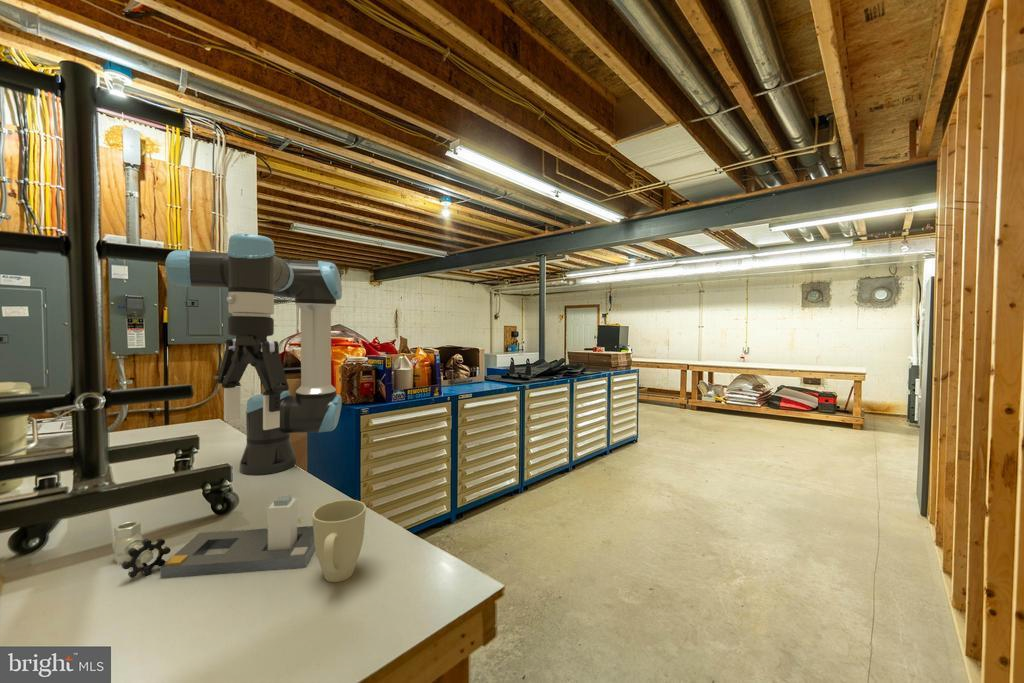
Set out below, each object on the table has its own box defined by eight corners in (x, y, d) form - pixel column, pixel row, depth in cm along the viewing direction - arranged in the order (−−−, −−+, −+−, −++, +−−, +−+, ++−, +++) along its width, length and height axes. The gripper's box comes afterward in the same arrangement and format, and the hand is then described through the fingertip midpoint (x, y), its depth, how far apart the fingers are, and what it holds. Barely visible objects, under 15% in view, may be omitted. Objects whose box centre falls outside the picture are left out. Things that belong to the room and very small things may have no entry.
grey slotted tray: (199, 542, 84) (199, 531, 84) (323, 534, 88) (323, 524, 88) (160, 578, 72) (160, 565, 72) (305, 567, 76) (305, 555, 76)
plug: (275, 547, 83) (276, 494, 82) (297, 545, 83) (297, 493, 83) (267, 558, 79) (267, 503, 78) (290, 556, 80) (290, 502, 79)
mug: (298, 576, 73) (298, 512, 73) (350, 554, 81) (351, 495, 80) (325, 605, 66) (326, 533, 66) (380, 577, 74) (381, 513, 73)
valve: (100, 563, 76) (123, 586, 70) (99, 529, 76) (123, 549, 70) (146, 547, 82) (171, 567, 76) (145, 515, 81) (170, 532, 75)
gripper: (197, 314, 82) (196, 419, 82) (269, 314, 70) (269, 437, 70) (237, 316, 88) (236, 413, 89) (309, 316, 76) (308, 428, 77)
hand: (251, 424), depth 80 cm, fingers open, 13 cm apart
